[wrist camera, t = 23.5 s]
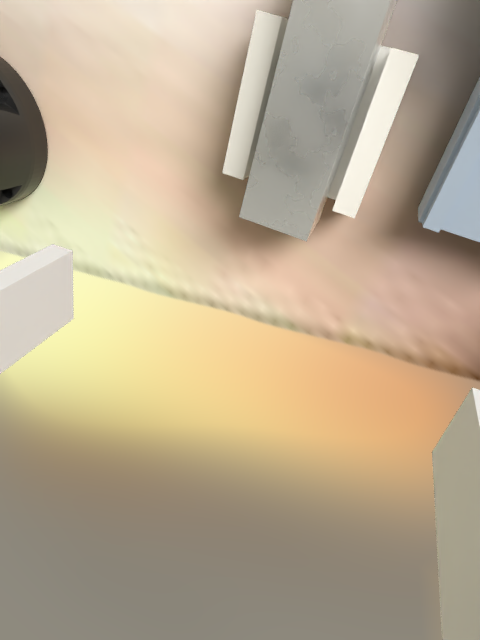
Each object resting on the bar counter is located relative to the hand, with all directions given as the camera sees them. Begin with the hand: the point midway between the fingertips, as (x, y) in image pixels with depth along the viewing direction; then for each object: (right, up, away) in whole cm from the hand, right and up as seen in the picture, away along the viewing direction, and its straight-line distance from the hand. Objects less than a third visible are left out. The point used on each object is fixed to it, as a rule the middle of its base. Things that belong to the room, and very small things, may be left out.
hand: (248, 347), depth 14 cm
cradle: (+6, +17, +22) cm, 29 cm away
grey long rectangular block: (+6, +18, +19) cm, 27 cm away
